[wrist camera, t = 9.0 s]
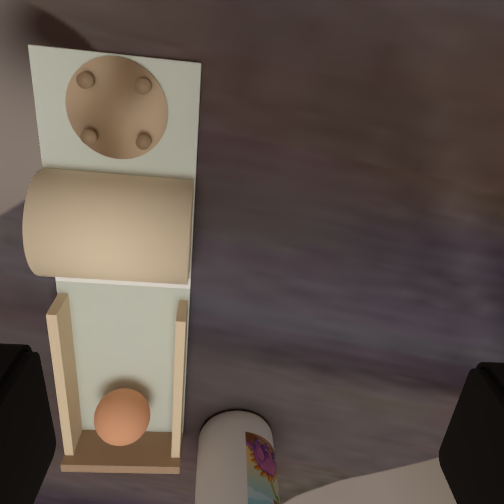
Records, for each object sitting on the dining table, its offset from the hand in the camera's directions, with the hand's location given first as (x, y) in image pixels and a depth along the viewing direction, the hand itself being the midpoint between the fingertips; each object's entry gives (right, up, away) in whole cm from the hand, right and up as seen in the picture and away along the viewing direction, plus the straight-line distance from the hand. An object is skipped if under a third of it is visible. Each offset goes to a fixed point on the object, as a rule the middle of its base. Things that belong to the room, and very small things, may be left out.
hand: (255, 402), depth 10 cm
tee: (-9, +13, +21) cm, 27 cm away
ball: (-12, -12, +31) cm, 36 cm away
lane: (-11, +2, +30) cm, 32 cm away
